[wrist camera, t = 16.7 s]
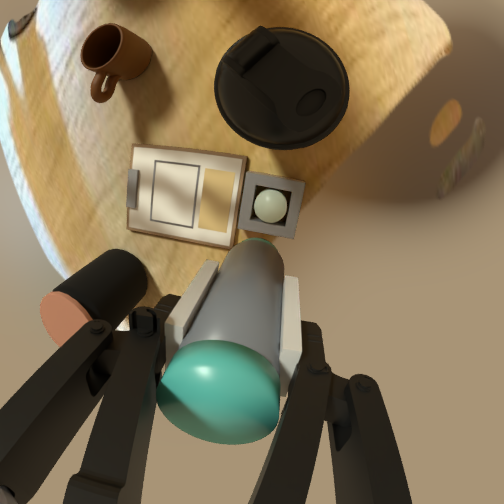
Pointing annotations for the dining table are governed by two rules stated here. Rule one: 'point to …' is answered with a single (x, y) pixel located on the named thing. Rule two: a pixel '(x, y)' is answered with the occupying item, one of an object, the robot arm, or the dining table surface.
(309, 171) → the dining table surface
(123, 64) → the mug
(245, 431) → the marker
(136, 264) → the coffee jar
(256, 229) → the button housing
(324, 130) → the water bottle
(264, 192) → the button
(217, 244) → the board
